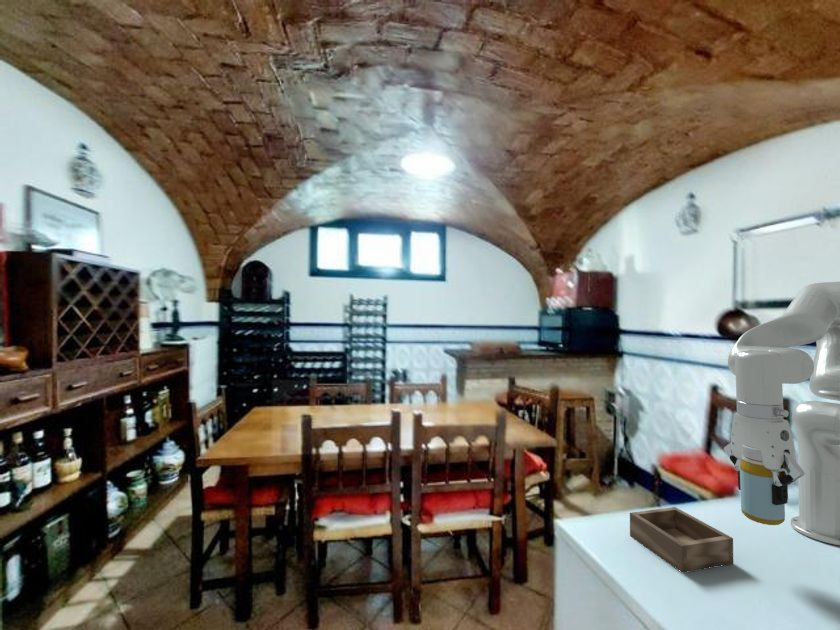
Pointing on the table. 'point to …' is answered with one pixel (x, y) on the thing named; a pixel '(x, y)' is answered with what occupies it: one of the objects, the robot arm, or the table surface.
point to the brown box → (681, 539)
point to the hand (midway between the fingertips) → (762, 495)
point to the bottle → (758, 489)
